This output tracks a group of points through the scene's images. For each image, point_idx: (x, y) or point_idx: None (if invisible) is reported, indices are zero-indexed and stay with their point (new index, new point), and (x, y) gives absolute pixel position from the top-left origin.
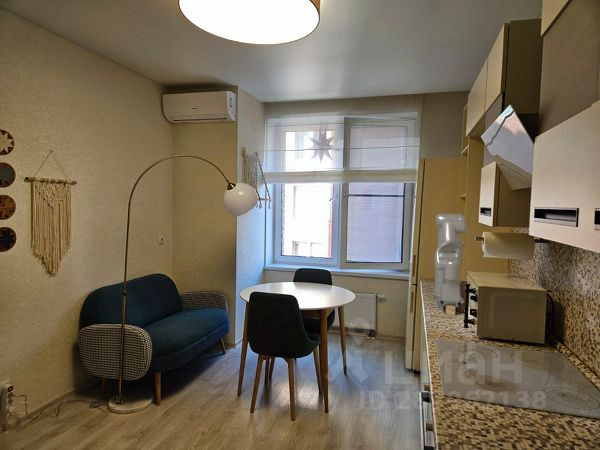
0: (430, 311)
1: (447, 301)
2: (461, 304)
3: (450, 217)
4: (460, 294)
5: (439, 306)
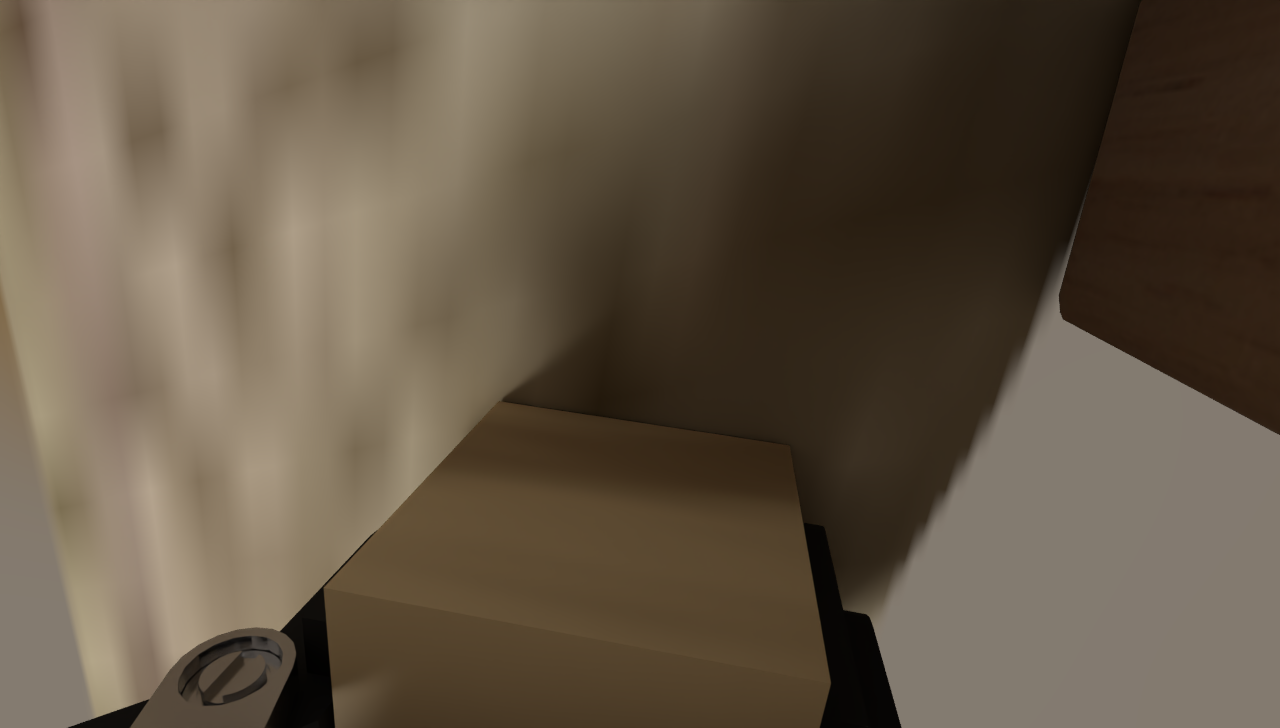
0: (96, 422)
1: None
2: None
3: None
4: None
5: None
